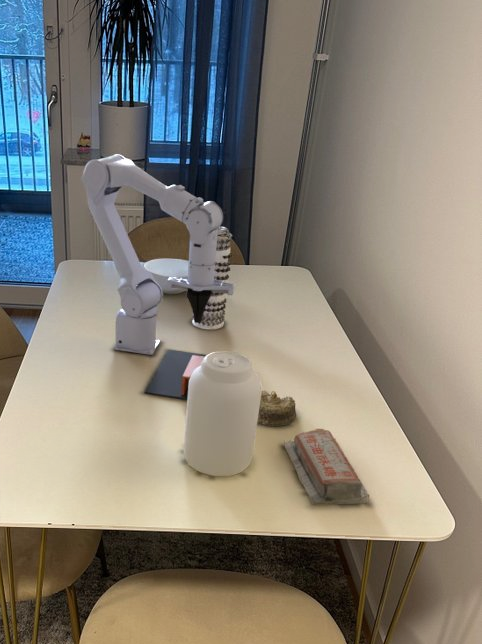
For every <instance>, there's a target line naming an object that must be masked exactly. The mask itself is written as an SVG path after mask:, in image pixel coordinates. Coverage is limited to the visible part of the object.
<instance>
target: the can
mask: <svg viewBox="0 0 482 644" xmlns="http://www.w3.org/2000/svg"><path fill="white" fill-rule="evenodd" d="M205 355H206V356H205V357H204V359H203V361H202V362H201V366H199V367H197V368H196V369H195V370H194V371H193V373H192V374H191V377H190V379H189V385H188V399H187V400H186V414H185V426H184V440H183V457H184V460H185V461H186V462H187V464H188V465H189V466H190V467H191V468H192V469H194V470H196V471H197V472H199V473H201V474H204V475H208V476H212V477H229V476H231V477H232V476H235V475H238V474H240V473H242V472H244V471H245V470H246V469H247V468H248V467H250V464H251V463H252V461H253V456H254V448H255V441H256V434H257V426H258V422H257V421H258V414H259V407H260V400H261V393H262V391H263V390H262V389H263V388H262V383H261V378H260V376H259V374H258V373H256V371H255V370H254V366H253V363H252V360H251V359H250V358H249V357H248V356H246V355H244V354H242V353H239V352H235V351H229V350H228V351H227V350H218V351H213V352H210V353H208V354H205Z"/></svg>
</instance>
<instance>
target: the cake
mask: <svg viewBox="0 0 482 644" xmlns="http://www.w3.org/2000/svg"><path fill="white" fill-rule="evenodd" d="M297 415H298V414H297V411H296V400H294V399H293V397H292V396H290V395H288V396H284V397H282V398H281V397H280V396H278V394H277V393H276V391H274V390H273V391H271V393H269V392H268V391H266V390H262V393H261V400H260V407H259V414H258V421H257V424H260V425H262V426H267V427H282V426H286V425H289V424H291V423H292V422H294V421H295V420H296V418H297Z"/></svg>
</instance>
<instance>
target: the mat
mask: <svg viewBox="0 0 482 644" xmlns="http://www.w3.org/2000/svg"><path fill="white" fill-rule="evenodd" d="M192 355H196V356H203V357H205V356H206V355H207V354H203V353H202V354H201V353H195V352H188V351H181V350H176V349H167V351H166V353H165V355H164V357H163V358H162V360H161V362H160V364H159V365H158V367H157V369H156V370H155V373H154V374H153V376H152V378H151V380H150V381H149V383H148V385H147V387H146V389H145V390H144V394H146V395H153V396H159V397H163V398H164V397H165V398H170V399H178V400H184V401H187V399H188V386H187V388H186V390H185V393H184V395H181V391H182V377H183V374H184V372H185V370H186V368H187V366H188V364H189V362H190V360H191V358H192ZM188 385H189V384H188Z"/></svg>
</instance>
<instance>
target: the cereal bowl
mask: <svg viewBox="0 0 482 644" xmlns="http://www.w3.org/2000/svg"><path fill="white" fill-rule="evenodd" d="M188 266H189V260H186V259H180V258H167V257H166V258H164V257H163V258H155V259H151V260H148V261H146V262H145V263H144V265H143V269H144V270H146V271H148V272H149V273H151V274H152V276H153V278H154V280H155V281H156V282H157V283H158V284H159V285H160V287H161V289H162V292H163V294H166V295H178V294H181V293H183V292H185V291H188V289H180V288H171V289H170V288H167V280H168V279H169V277H174V278H187V277H188Z"/></svg>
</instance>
